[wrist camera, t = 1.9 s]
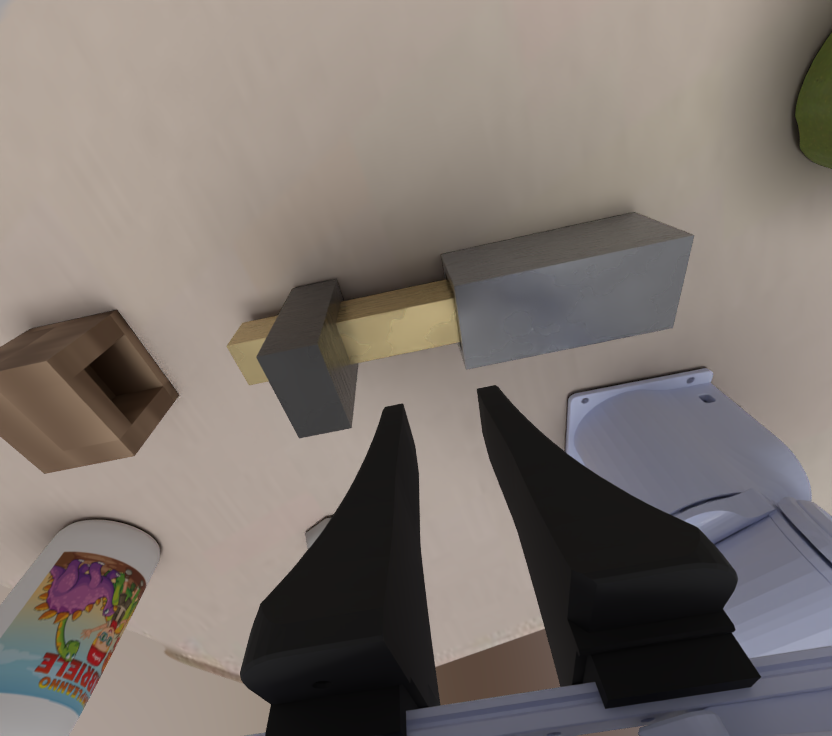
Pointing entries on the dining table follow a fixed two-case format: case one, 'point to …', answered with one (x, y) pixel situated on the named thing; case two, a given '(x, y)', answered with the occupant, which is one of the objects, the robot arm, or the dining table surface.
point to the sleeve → (567, 287)
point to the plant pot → (817, 108)
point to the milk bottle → (68, 623)
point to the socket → (80, 393)
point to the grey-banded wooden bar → (338, 345)
